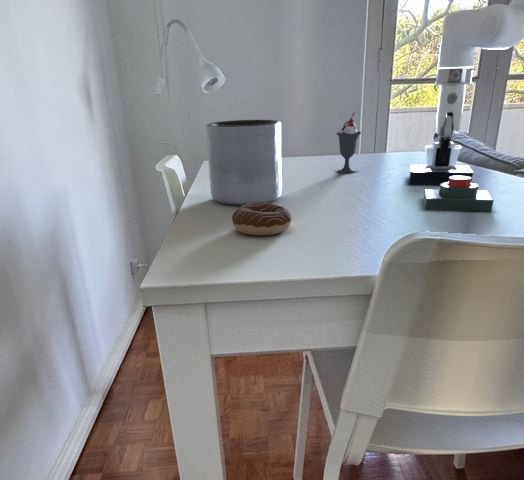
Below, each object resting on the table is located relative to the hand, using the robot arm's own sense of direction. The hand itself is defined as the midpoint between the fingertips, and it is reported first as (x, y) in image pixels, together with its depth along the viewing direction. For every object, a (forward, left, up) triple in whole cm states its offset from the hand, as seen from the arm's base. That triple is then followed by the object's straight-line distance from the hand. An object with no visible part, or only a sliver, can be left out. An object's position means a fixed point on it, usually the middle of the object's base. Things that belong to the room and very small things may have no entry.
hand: (440, 163), depth 114 cm
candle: (-1, -14, -4) cm, 15 cm away
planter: (+42, +25, -4) cm, 49 cm away
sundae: (+24, -13, -4) cm, 28 cm away
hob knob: (0, 0, -1) cm, 1 cm away
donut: (+32, +49, -4) cm, 59 cm away
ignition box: (-2, +26, -4) cm, 26 cm away
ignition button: (-2, +26, -1) cm, 26 cm away
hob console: (0, 0, -4) cm, 4 cm away
